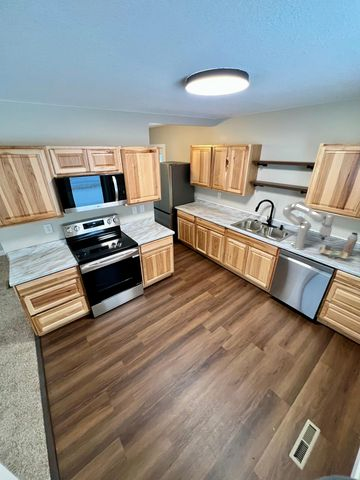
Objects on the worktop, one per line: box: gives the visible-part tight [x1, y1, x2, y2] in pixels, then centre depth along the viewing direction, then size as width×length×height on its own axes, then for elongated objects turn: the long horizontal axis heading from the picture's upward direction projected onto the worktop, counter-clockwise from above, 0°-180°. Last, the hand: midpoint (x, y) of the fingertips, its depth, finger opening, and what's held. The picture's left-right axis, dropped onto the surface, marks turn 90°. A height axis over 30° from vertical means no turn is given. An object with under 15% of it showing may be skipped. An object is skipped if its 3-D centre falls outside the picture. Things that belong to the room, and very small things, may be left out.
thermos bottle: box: [342, 232, 359, 258], centre depth 218 cm, size 8×8×28 cm
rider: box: [324, 244, 332, 251], centre depth 220 cm, size 5×5×7 cm
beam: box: [318, 246, 348, 260], centre depth 219 cm, size 26×6×8 cm, turn 52°
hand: (322, 240), depth 220 cm, fingers closed
